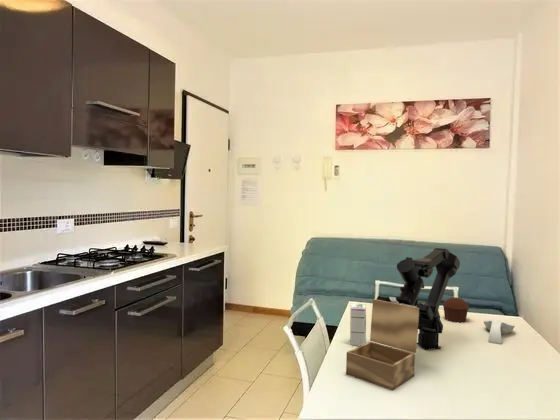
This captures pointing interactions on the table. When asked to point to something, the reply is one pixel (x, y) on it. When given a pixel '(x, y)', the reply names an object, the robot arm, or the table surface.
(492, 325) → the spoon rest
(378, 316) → the lid
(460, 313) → the muffin
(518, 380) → the table surface
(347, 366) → the brown wooden box base
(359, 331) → the syrup box
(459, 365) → the table surface
